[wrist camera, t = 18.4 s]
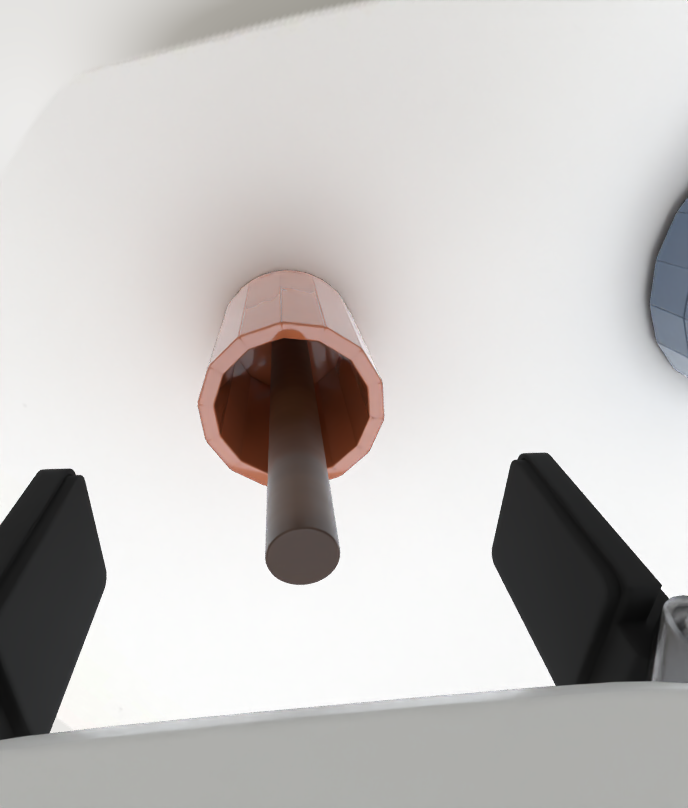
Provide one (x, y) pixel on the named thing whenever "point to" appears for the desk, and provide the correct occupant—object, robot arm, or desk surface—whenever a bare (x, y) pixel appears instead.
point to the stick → (297, 474)
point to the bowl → (672, 293)
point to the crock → (251, 373)
